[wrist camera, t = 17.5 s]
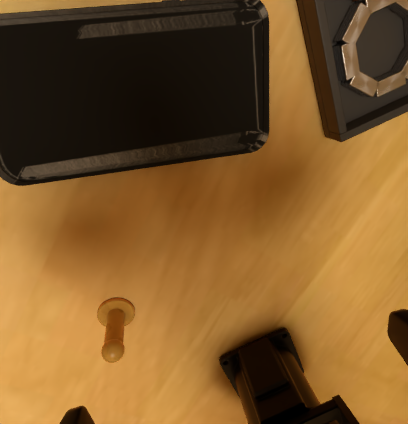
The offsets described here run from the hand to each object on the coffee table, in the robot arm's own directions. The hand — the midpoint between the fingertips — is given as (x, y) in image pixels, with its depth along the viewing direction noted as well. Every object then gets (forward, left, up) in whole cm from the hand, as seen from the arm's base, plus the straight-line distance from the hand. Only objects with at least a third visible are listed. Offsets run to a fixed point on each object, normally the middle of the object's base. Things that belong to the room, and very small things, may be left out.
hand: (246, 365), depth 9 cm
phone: (+7, 0, -13) cm, 15 cm away
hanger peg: (-6, +8, -13) cm, 16 cm away
